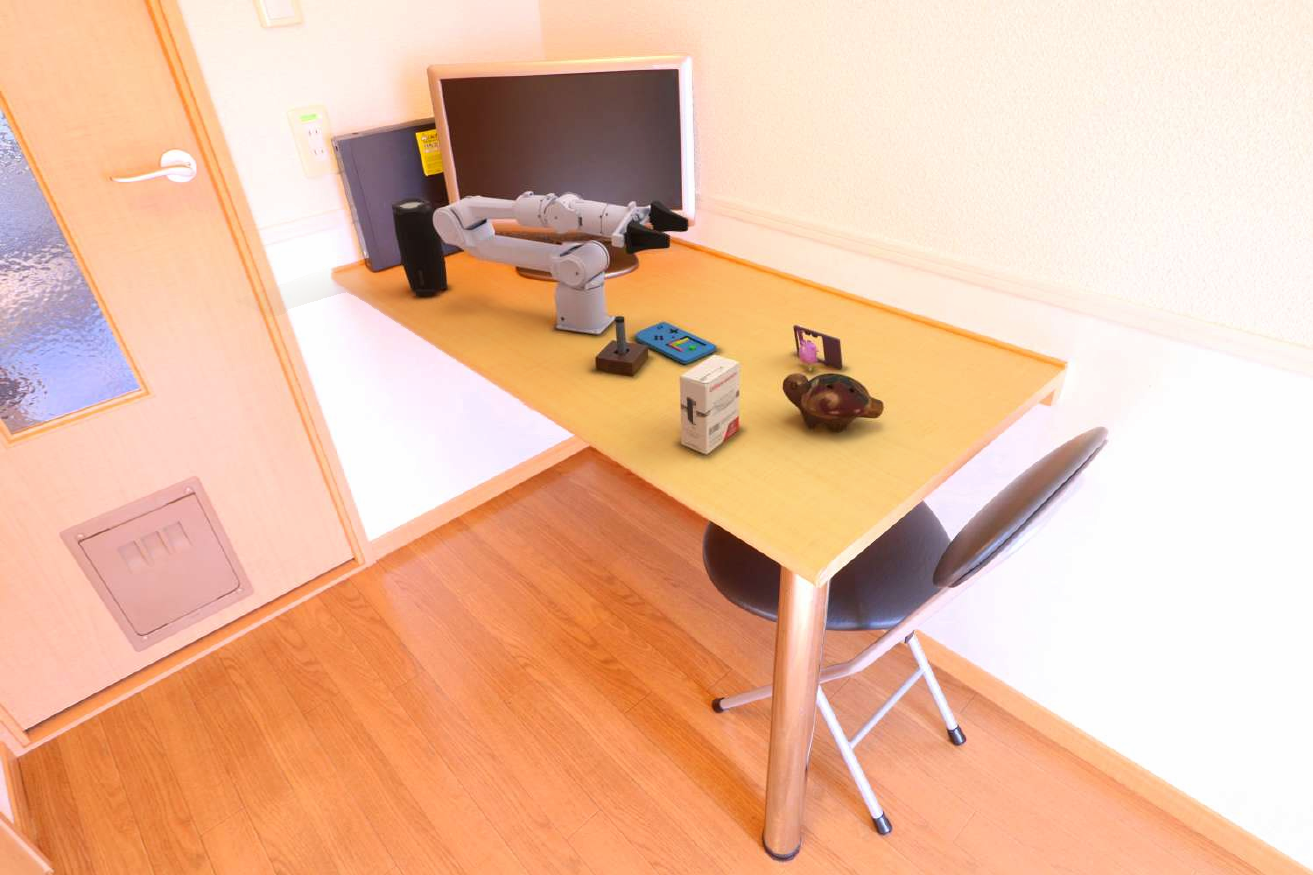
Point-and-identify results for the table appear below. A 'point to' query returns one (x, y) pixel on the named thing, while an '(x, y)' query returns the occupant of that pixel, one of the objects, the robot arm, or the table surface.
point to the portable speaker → (420, 246)
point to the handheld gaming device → (675, 342)
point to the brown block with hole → (622, 359)
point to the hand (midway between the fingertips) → (678, 233)
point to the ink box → (709, 403)
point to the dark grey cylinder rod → (620, 335)
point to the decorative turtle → (830, 399)
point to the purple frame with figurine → (810, 350)
